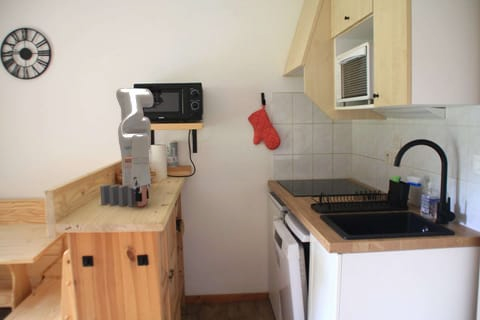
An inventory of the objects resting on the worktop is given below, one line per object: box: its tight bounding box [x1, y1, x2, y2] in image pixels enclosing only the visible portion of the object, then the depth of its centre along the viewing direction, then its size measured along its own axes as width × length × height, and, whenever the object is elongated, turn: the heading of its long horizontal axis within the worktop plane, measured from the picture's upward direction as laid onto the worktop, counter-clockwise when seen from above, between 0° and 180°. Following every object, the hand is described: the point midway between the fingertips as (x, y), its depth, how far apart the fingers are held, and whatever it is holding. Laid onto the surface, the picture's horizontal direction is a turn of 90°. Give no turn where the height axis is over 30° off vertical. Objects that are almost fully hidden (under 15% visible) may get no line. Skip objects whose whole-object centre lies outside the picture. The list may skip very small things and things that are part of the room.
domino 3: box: [118, 185, 128, 207], centre depth 172 cm, size 2×5×9 cm, turn 163°
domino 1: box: [99, 184, 111, 206], centre depth 175 cm, size 2×5×9 cm, turn 163°
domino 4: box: [127, 187, 138, 208], centre depth 170 cm, size 2×5×9 cm, turn 163°
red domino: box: [137, 185, 148, 207], centre depth 169 cm, size 2×5×9 cm, turn 163°
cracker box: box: [123, 157, 138, 188], centre depth 195 cm, size 14×6×21 cm, turn 168°
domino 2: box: [109, 184, 120, 207], centre depth 173 cm, size 2×5×9 cm, turn 163°
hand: (142, 199), depth 169 cm, fingers closed on red domino, 4 cm apart
